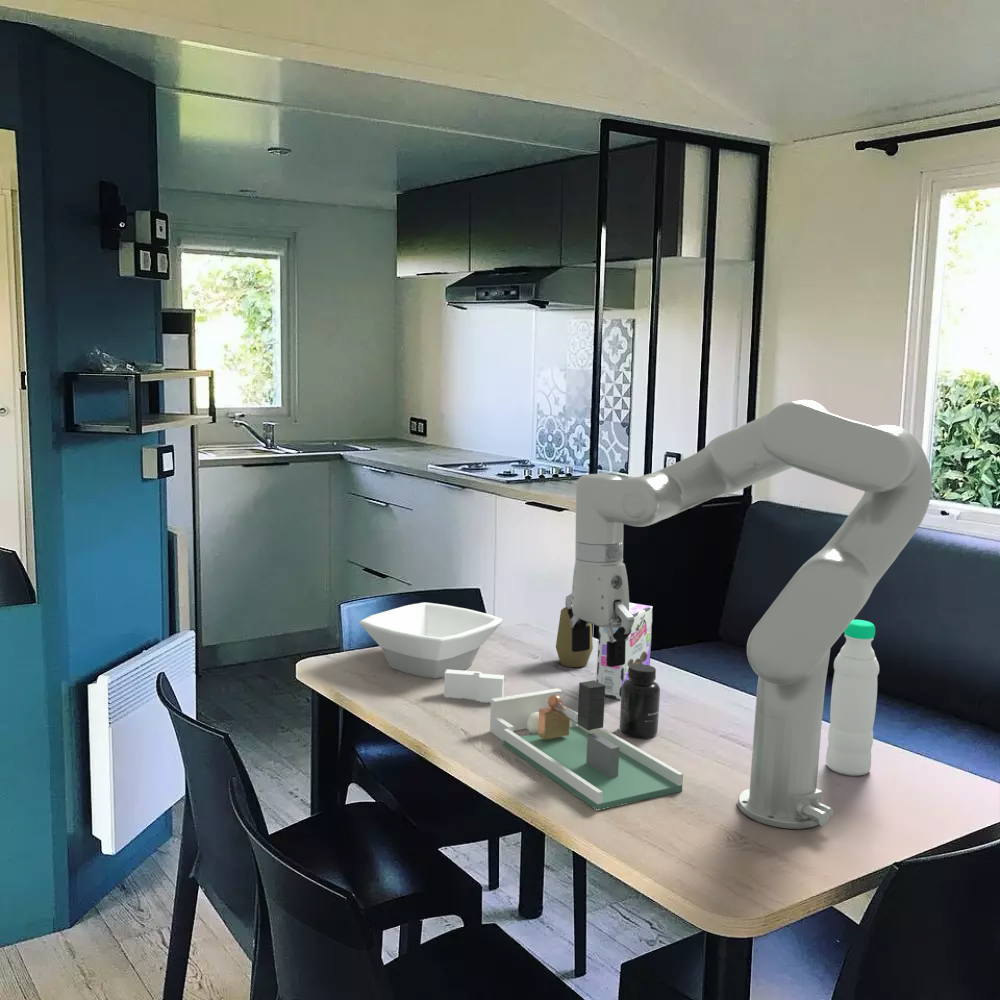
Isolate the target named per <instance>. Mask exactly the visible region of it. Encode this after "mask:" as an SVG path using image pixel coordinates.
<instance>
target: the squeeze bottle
mask: <svg viewBox="0 0 1000 1000" xmlns="http://www.w3.org/2000/svg"><path fill="white" fill-rule="evenodd" d="M564 604H565V607H563V608H562V609H561V610H560V615H559V622H558V630H557V635H556V642H555V650H556V653H557V655H558V661H559V663H560V664H561V665H563V666H565V667H572V668H580V667H585V666H588V665H587V664H588V662H589V660H590V657H591V654H592V651H593V649H594V642H593V626H592V625H593V624H591V623H589V622H588V624H587V625H586V626H590V649H589V650H585V651H579V652H574V651H572V628H574V627H571V626H570V620H571V619H570V617H569V615H568V607H567V603H566V602H565V603H564Z"/></svg>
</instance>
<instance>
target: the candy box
mask: <svg viewBox="0 0 1000 1000" xmlns="http://www.w3.org/2000/svg"><path fill="white" fill-rule="evenodd" d="M653 608H654V607H653V606H652V605H646V604H642V603H633V602H629V612H630V613H631V615H632V616H633V617H634V623H633V626H632V628H631V633H630V634H629V636H628V640H626V646H625V664H624V665H620V666H614V667H609V666H607V641H610V640H609V637H608V635H607V632H606V630H605V628H603V627H600V626H598V644H597V645H598V646H597V659H596V661H597V662H596V663H597V664H596V680H595V681H597V682H599V683H601V684H603V685H605V697H608V698H613V699H616V700H620V701H621V692H622V685H623V683H624V682H625V681H626V680H628V679H629V678H628V671H629V666H630V665H634V664H644V665H650V666H651V650H652V649H651V648H652V628H653V627H652V626H653V611H654V610H653ZM609 622H613V621H609ZM613 630H614V633H615V632H616V631H617V630H618V629H617V627H615V628H613Z"/></svg>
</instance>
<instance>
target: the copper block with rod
mask: <svg viewBox="0 0 1000 1000" xmlns="http://www.w3.org/2000/svg"><path fill="white" fill-rule="evenodd" d="M605 698H606V696H605V685H603V684H601V683H599V682H597V681H596V680H595V679H594V680H587V681H582V682H580V681H579V683H578V703H577V704H578V705H577V711H575V710H574V709H572V708H570V707H568V706H567V705H566V704H563V699H562V700H561V698H560V697H559V696H558V695H552V696H550V697H549V699H548V705H549V706H550V707H547V708H541V709H539V724H538V736H539V737H541V738H542V739H544V740H545V739H551V738H556V737H561V736H567V735H569V721H570V720H571V721H573V722H575V723H577V726H578V725H580V726H581V727H583V728H585V729H586V730H589V731H590V730H592V729H598V728H604V721H605V720H604V718H605V717H604V716H605V701H606V699H605Z"/></svg>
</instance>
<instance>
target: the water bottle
mask: <svg viewBox="0 0 1000 1000" xmlns="http://www.w3.org/2000/svg"><path fill="white" fill-rule="evenodd" d="M843 633H844V635H843V636H844V638H845V643H844V645H843V646H842V647H841V648H840V651H839V653H838V654H837V656H836V657H835V658H834V661H833V669H834V673H833V678H832V685H831V693H830V694H831V698H830V711H829V712H830V714H829V715H830V718H829V719H830V724H829V727H828V733H827V740H828V741H827V742H828V743H827V748H826V755H825V763H826V766H827V767H828V768H829V769H830V770H832V771H833V772H835V773H838V774H840V775H844V776H853V777H858V776H864V775H866V774H868V773H869V772H870V770H871V767H872V747H873V743H874V730H873V729H874V724H875V718H876V709H877V700H878V698H877V697H878V675H879V674H880V664H879V661H878V659H877V657H876V654H875V650H874V649H873V647H872V642H873V640H874V638H875V637H876V636H875V635H876V626H875V625H874V624H873V623H872V622H871V621H868V620H863V619H853V621H852V622H851V623H850V624H849V626H848V627H847V628H846V629H845V631H844V632H843Z"/></svg>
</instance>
